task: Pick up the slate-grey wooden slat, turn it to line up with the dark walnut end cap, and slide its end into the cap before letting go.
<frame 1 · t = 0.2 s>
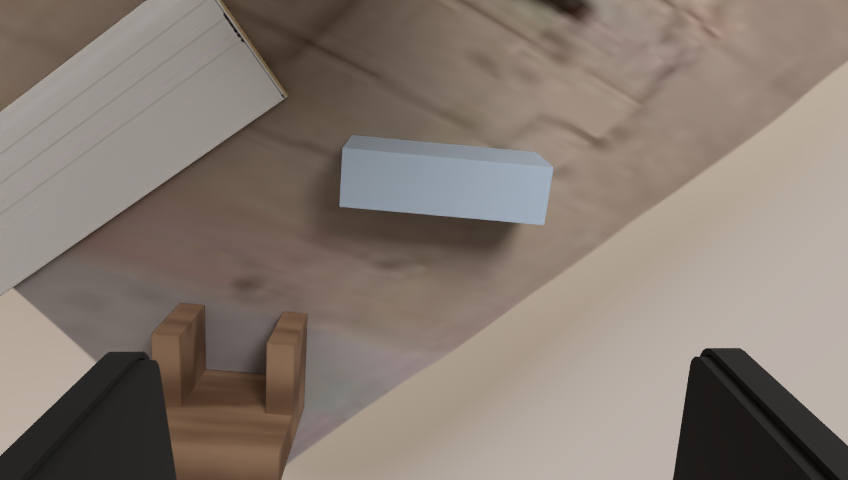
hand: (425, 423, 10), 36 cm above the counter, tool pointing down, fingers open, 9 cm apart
baseboard molding: (81, 140, 45), on the counter
slate slat: (442, 169, 45), on the counter
walnut end cap: (243, 356, 50), on the counter
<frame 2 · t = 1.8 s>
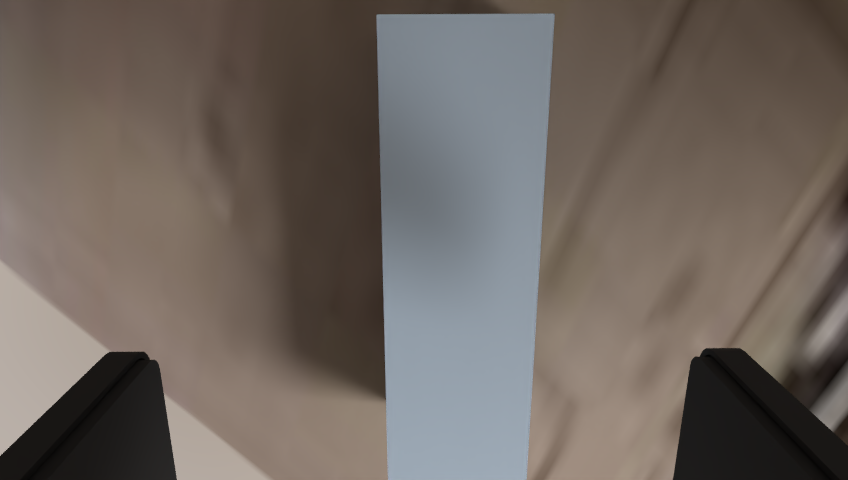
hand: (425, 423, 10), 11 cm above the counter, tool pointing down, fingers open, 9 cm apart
slate slat: (454, 233, 21), on the counter
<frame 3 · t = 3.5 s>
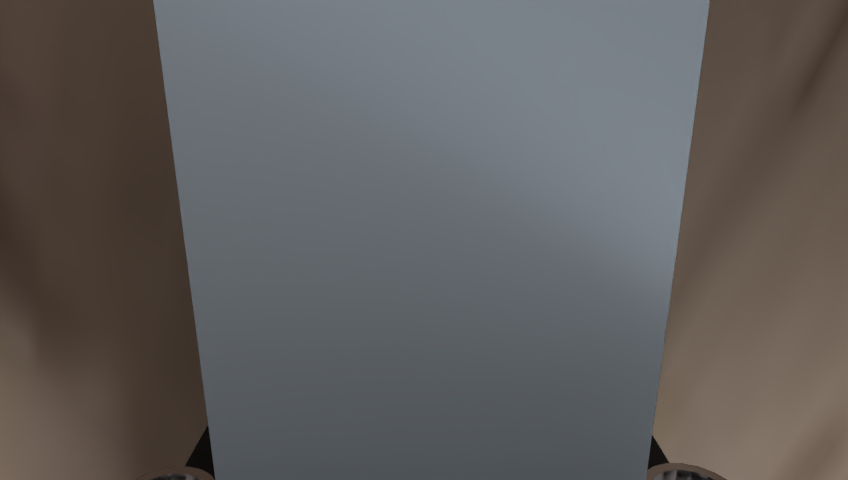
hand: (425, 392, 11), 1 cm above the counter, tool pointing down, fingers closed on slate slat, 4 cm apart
slate slat: (425, 378, 12), on the counter, touching gripper
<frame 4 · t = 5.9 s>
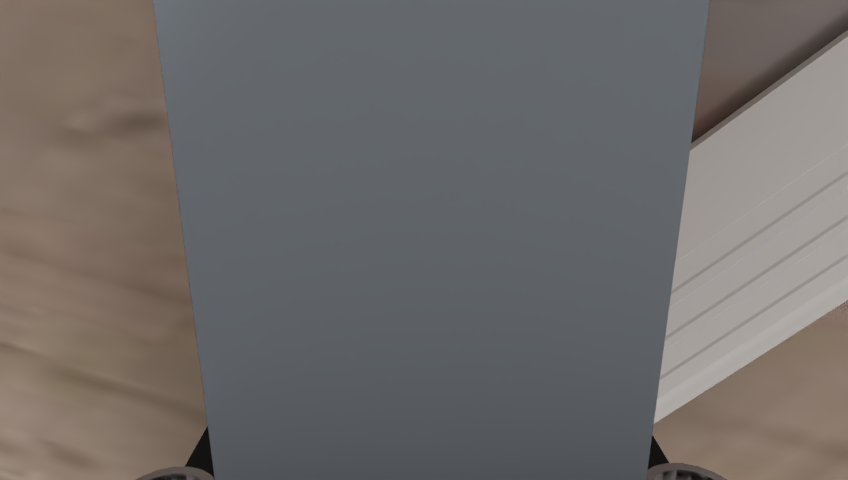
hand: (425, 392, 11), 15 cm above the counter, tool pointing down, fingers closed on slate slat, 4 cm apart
baseboard molding: (691, 280, 28), on the counter
slate slat: (425, 378, 12), point 14 cm above the counter, touching gripper
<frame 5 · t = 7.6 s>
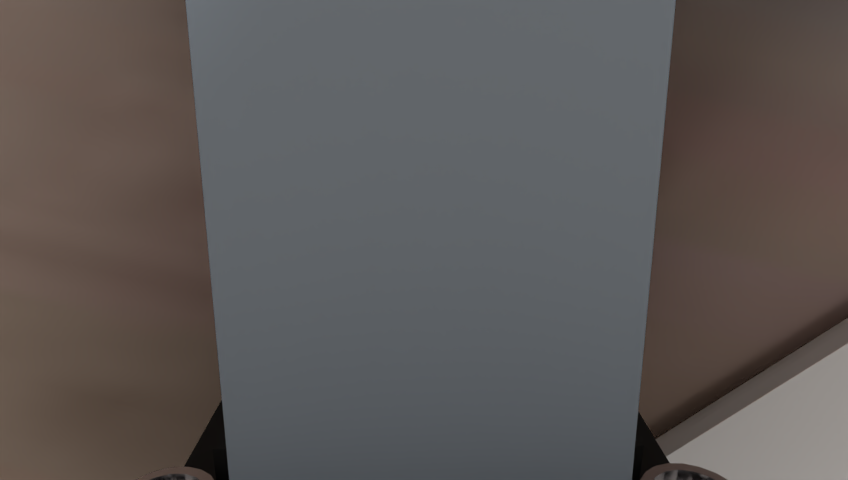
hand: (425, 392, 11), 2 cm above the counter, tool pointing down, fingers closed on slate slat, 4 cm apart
slate slat: (424, 381, 12), point 1 cm above the counter, touching gripper
when the fingers open (2 cm above the counter, at t = 8.7 s): slate slat drops 1 cm, on the counter.
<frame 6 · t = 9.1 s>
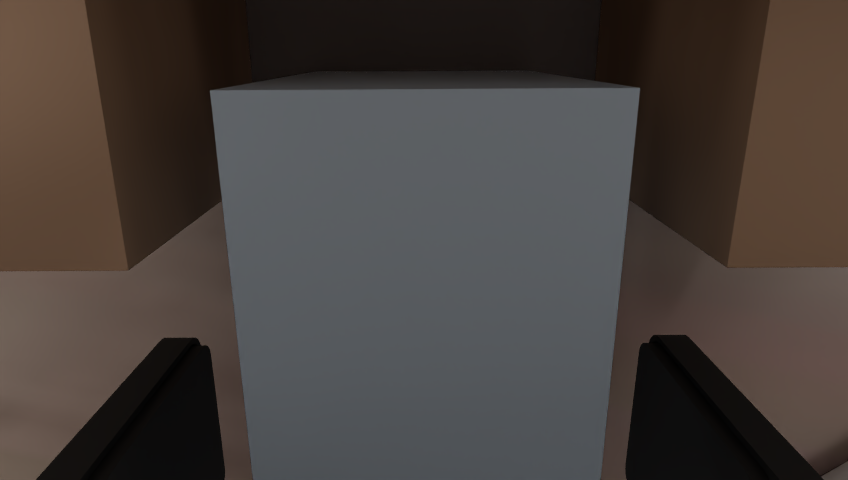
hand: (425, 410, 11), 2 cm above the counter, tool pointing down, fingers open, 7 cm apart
slate slat: (423, 394, 13), on the counter
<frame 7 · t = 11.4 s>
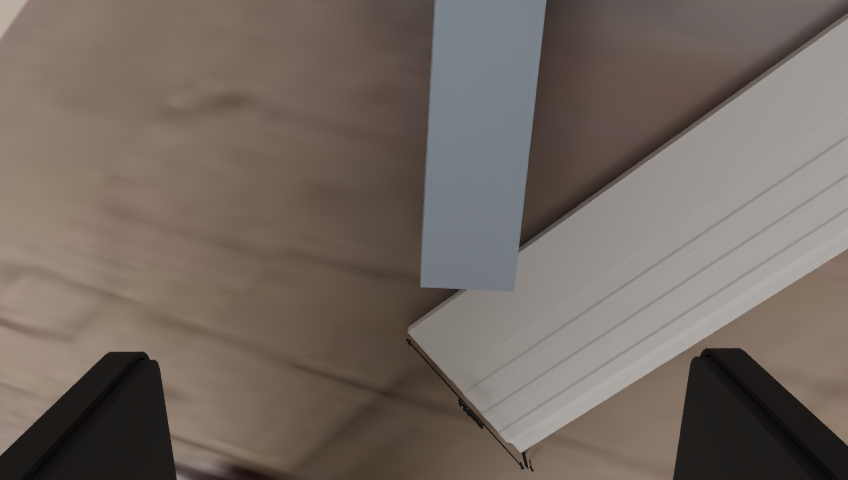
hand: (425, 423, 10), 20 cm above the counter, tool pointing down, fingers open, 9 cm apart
baseboard molding: (705, 234, 31), on the counter
slate slat: (470, 105, 29), on the counter
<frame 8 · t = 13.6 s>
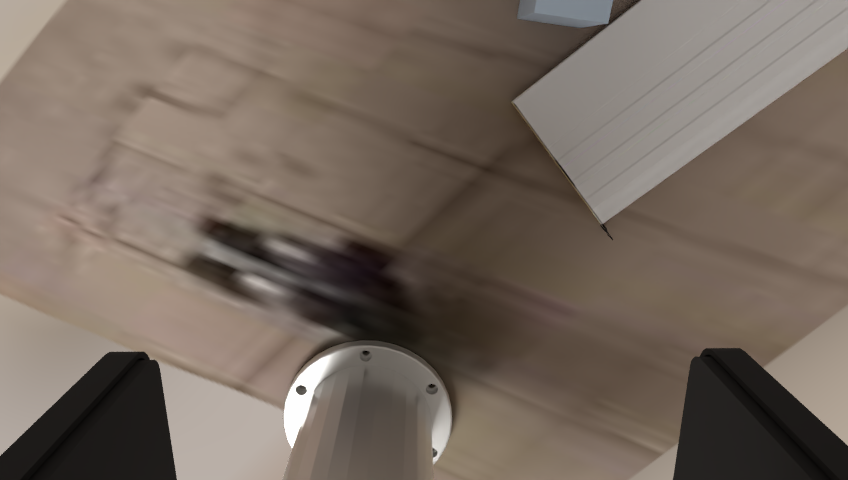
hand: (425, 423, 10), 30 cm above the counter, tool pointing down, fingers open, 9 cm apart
baseboard molding: (759, 20, 38), on the counter
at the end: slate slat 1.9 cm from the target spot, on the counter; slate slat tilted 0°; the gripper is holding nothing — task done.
